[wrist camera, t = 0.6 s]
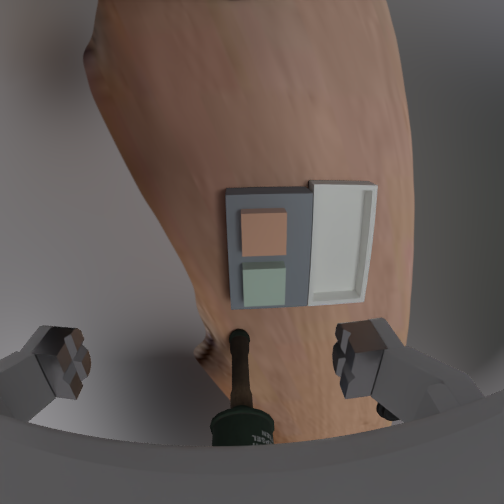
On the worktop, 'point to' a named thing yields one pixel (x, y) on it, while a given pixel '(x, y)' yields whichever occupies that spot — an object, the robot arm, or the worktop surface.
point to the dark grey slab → (297, 245)
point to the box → (340, 240)
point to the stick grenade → (241, 405)
